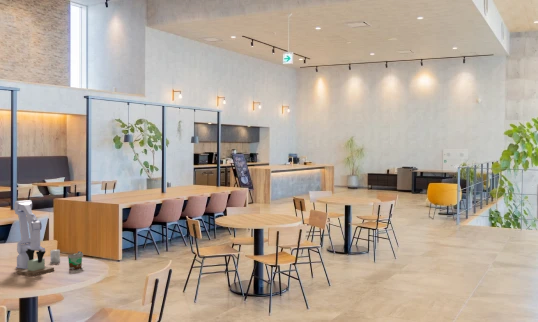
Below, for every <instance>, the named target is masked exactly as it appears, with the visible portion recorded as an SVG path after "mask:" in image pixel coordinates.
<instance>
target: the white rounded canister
mask: <svg viewBox="0 0 538 322" xmlns="http://www.w3.org/2000/svg"><path fill="white" fill-rule="evenodd" d="M49 252H50V254H49V257H50V263H51V264H57V263H60V262H61V249H51V250H50V251H49Z"/></svg>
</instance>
